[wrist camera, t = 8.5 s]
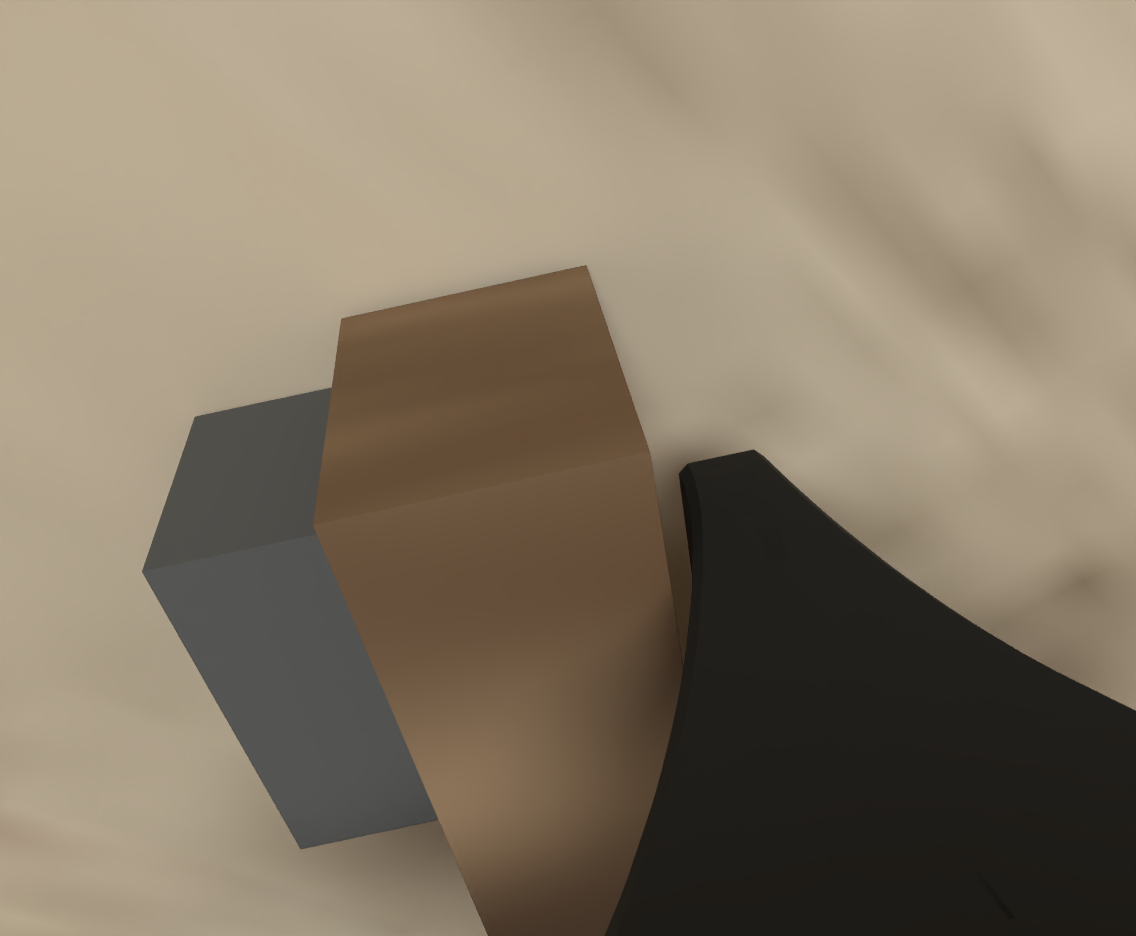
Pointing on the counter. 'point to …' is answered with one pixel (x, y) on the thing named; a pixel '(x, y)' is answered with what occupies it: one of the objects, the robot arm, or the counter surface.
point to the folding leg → (509, 584)
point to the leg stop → (280, 623)
